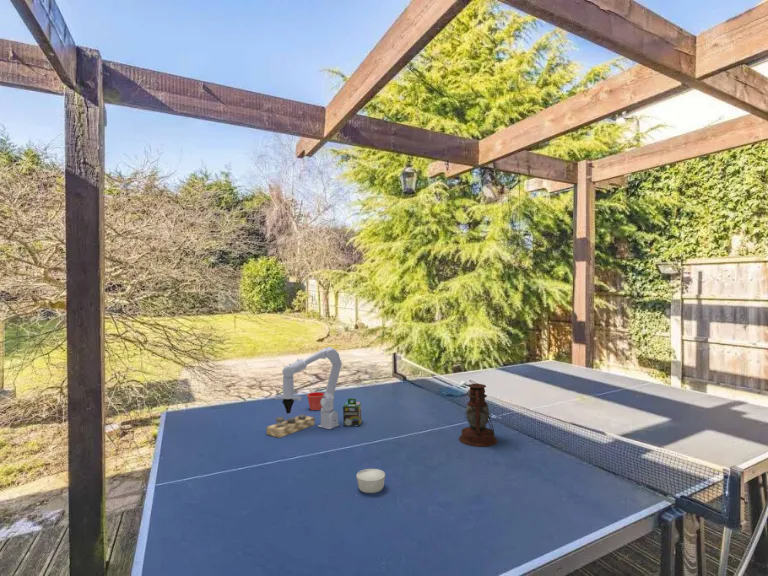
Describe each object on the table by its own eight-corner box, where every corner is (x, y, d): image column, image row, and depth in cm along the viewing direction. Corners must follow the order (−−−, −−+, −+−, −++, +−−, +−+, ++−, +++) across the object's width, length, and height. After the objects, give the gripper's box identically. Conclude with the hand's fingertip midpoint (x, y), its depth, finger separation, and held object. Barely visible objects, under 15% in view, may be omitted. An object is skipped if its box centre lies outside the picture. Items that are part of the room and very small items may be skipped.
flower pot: (323, 411, 271) (323, 396, 271) (306, 411, 271) (305, 396, 271) (325, 406, 282) (325, 392, 282) (309, 407, 282) (309, 392, 282)
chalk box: (361, 421, 248) (361, 396, 249) (359, 426, 239) (358, 400, 239) (346, 421, 249) (345, 395, 250) (343, 426, 240) (342, 400, 240)
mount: (302, 421, 250) (302, 414, 250) (314, 424, 244) (314, 417, 244) (266, 434, 228) (266, 426, 229) (279, 437, 223) (279, 430, 223)
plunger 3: (307, 423, 243) (307, 415, 243) (301, 425, 240) (301, 417, 240) (302, 422, 246) (301, 414, 246) (296, 424, 242) (296, 416, 242)
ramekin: (369, 479, 173) (369, 465, 173) (391, 486, 165) (391, 473, 165) (350, 489, 164) (350, 475, 164) (372, 497, 157) (372, 483, 157)
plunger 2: (297, 427, 237) (297, 418, 237) (291, 429, 233) (291, 420, 233) (291, 426, 239) (291, 417, 239) (285, 428, 236) (285, 419, 236)
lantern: (498, 448, 204) (497, 385, 204) (458, 445, 207) (457, 383, 208) (496, 434, 222) (495, 377, 222) (459, 432, 226) (458, 376, 226)
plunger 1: (286, 426, 230) (285, 417, 230) (279, 429, 227) (279, 419, 227) (280, 425, 233) (280, 416, 233) (274, 427, 229) (274, 418, 229)
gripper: (303, 387, 237) (303, 411, 237) (279, 386, 241) (279, 410, 240) (298, 389, 230) (298, 415, 230) (273, 388, 234) (273, 413, 234)
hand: (288, 412), depth 235 cm, fingers closed
